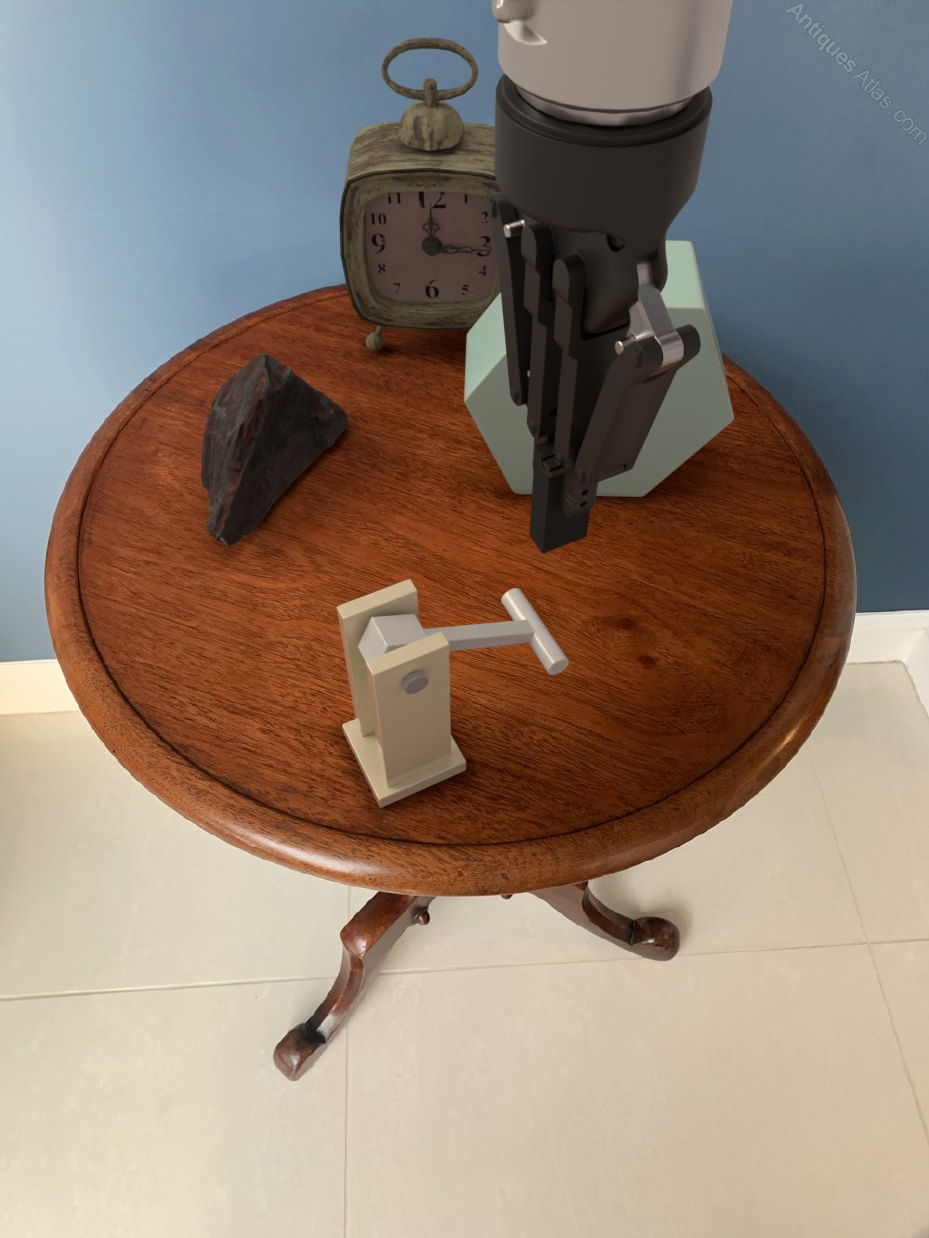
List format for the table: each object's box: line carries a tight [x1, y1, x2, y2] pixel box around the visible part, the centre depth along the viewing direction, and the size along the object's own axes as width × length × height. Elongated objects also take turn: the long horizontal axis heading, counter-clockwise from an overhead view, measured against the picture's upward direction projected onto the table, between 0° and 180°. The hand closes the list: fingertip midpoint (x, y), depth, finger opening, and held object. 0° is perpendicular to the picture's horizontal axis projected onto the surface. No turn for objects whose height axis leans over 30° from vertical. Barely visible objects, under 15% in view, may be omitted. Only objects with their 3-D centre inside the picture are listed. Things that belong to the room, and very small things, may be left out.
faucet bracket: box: [336, 578, 467, 809], centre depth 57 cm, size 6×6×14 cm
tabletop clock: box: [338, 37, 501, 352], centre depth 79 cm, size 14×9×25 cm, turn 89°
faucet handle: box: [358, 587, 570, 676], centre depth 56 cm, size 12×6×2 cm, turn 117°
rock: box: [200, 352, 351, 547], centre depth 74 cm, size 7×18×9 cm, turn 152°
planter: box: [463, 239, 735, 498], centre depth 72 cm, size 17×8×21 cm
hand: (557, 535), depth 52 cm, fingers closed
